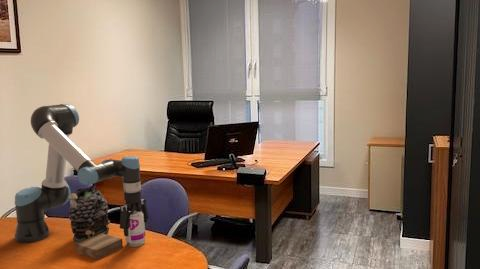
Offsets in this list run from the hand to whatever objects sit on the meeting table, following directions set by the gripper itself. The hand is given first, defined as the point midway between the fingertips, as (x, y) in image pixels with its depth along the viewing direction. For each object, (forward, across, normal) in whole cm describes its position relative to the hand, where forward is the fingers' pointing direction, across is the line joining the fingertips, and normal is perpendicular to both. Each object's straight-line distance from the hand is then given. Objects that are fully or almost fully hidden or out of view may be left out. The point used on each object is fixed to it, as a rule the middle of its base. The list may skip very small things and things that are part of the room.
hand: (135, 238), depth 193 cm
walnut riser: (+2, -13, +9) cm, 16 cm away
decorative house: (+3, -5, +25) cm, 26 cm away
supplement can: (+2, 0, 0) cm, 2 cm away
